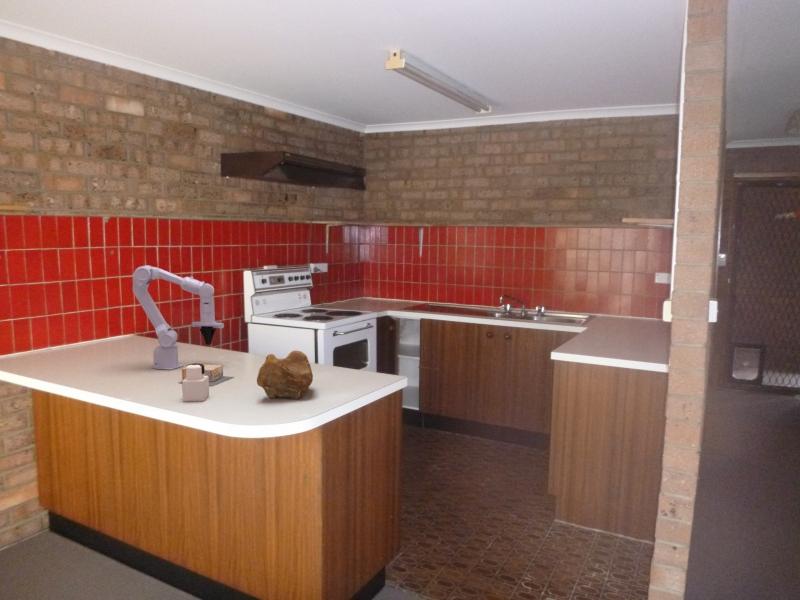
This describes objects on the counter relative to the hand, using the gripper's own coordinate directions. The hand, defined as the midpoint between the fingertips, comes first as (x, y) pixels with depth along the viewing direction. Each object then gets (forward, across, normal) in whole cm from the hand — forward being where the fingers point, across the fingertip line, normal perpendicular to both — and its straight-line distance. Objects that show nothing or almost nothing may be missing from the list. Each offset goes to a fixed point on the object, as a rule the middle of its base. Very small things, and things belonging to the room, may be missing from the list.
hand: (208, 344), depth 249 cm
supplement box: (+7, -5, +21) cm, 22 cm away
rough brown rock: (+10, -55, +29) cm, 63 cm away
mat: (+9, -14, +21) cm, 27 cm away
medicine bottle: (+10, -26, +43) cm, 51 cm away
